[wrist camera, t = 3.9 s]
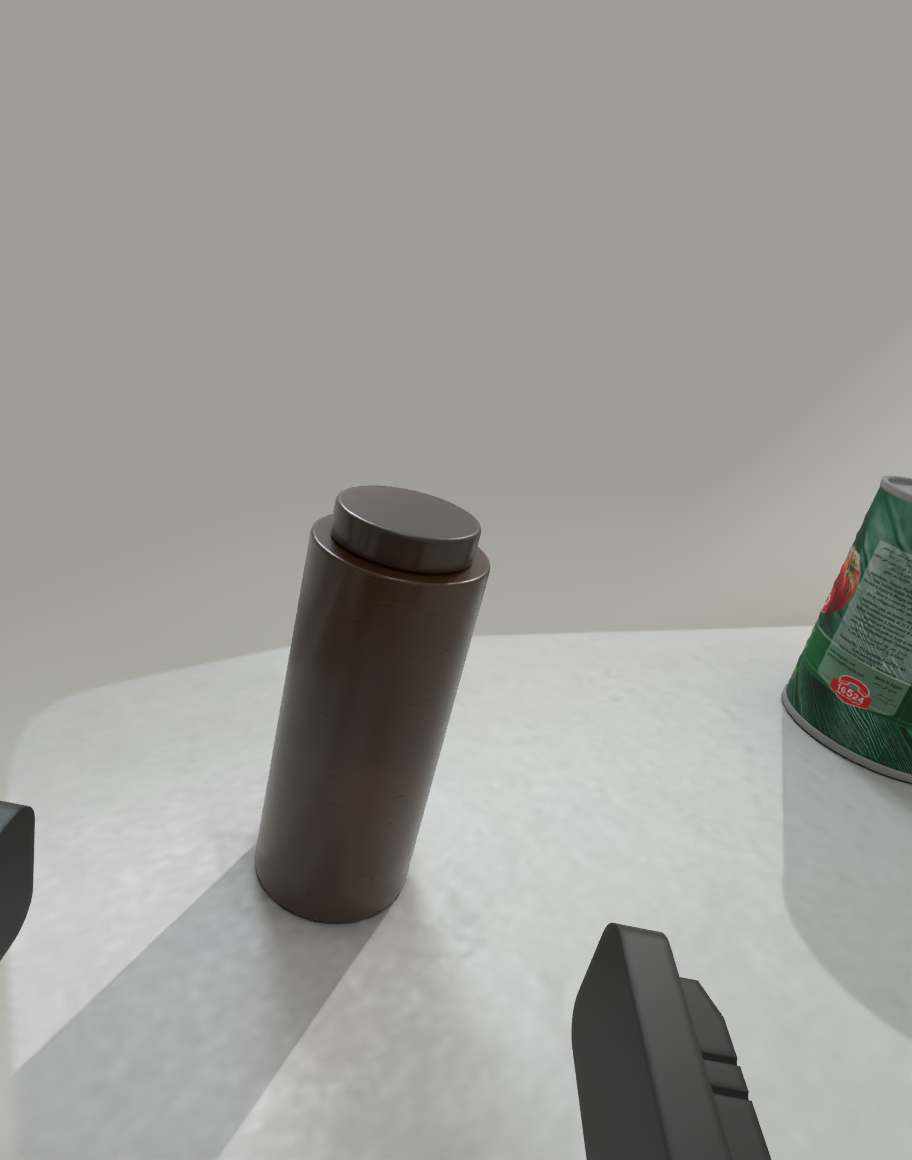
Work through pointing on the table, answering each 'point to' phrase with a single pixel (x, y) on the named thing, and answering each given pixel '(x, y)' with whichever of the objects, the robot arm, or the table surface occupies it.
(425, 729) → the pepper mill
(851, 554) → the canned tomato
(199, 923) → the table surface
